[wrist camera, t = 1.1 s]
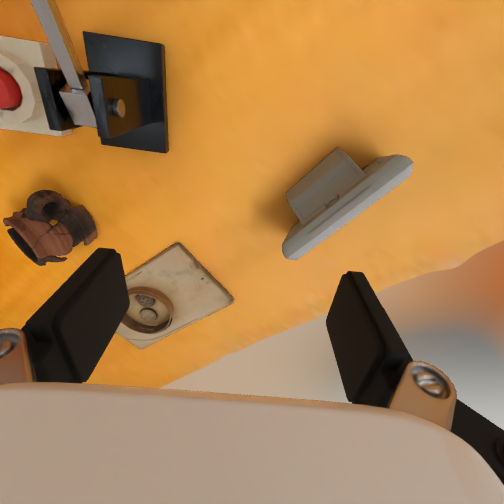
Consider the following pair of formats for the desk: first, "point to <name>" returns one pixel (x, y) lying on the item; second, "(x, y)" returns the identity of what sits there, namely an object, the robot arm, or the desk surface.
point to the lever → (67, 64)
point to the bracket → (116, 92)
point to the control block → (27, 85)
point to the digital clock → (338, 196)
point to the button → (9, 91)
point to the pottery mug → (50, 227)
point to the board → (169, 296)
